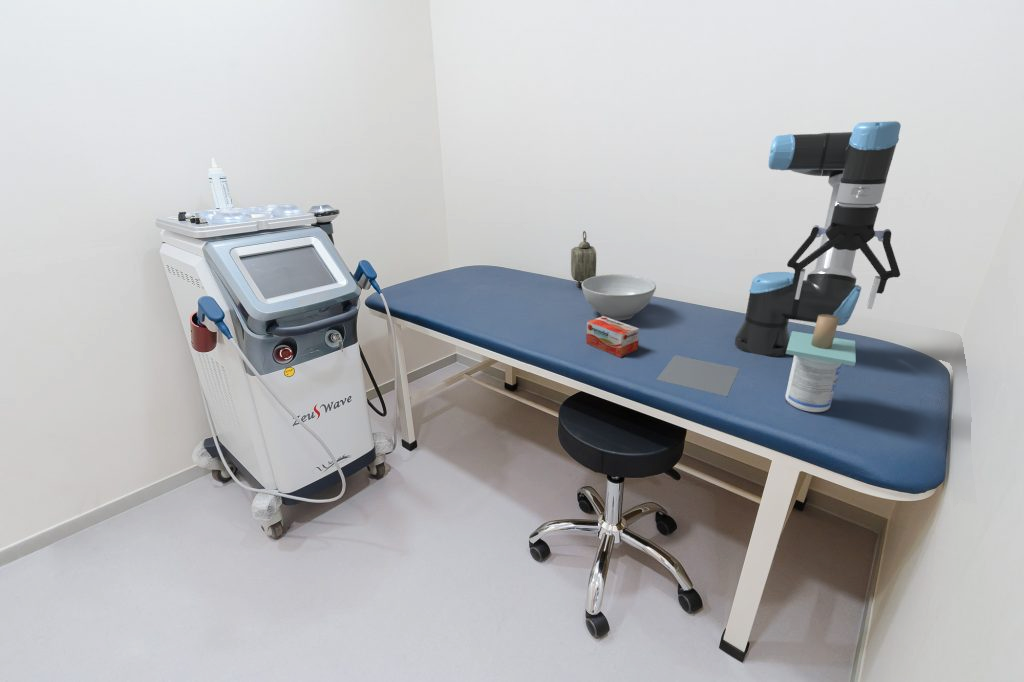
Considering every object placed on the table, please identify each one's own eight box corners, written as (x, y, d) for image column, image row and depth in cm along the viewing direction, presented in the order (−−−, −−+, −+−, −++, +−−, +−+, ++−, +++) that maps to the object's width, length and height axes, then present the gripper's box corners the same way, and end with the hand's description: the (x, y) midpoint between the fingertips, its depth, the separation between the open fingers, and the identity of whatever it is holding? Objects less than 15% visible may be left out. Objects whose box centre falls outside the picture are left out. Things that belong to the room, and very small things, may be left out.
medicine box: (638, 351, 145) (640, 327, 142) (621, 359, 140) (622, 334, 137) (601, 337, 156) (602, 315, 153) (584, 344, 151) (585, 321, 148)
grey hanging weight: (595, 291, 203) (597, 233, 193) (574, 292, 203) (575, 234, 193) (589, 282, 216) (591, 227, 206) (570, 282, 216) (571, 228, 206)
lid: (791, 334, 116) (797, 304, 113) (853, 344, 109) (862, 313, 106) (785, 353, 106) (792, 321, 103) (854, 366, 99) (864, 331, 96)
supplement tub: (837, 415, 108) (853, 358, 103) (793, 412, 110) (806, 357, 104) (818, 394, 117) (832, 341, 111) (778, 392, 119) (790, 340, 113)
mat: (674, 356, 140) (674, 355, 140) (739, 369, 131) (739, 368, 131) (656, 381, 126) (656, 379, 126) (726, 398, 117) (727, 396, 117)
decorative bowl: (646, 303, 186) (649, 274, 181) (659, 328, 161) (662, 295, 156) (579, 303, 188) (580, 274, 184) (582, 327, 164) (582, 295, 159)
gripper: (785, 204, 99) (767, 298, 107) (939, 209, 86) (904, 316, 94) (789, 199, 104) (771, 289, 113) (933, 204, 91) (901, 305, 100)
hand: (832, 302), depth 104 cm, fingers open, 13 cm apart
